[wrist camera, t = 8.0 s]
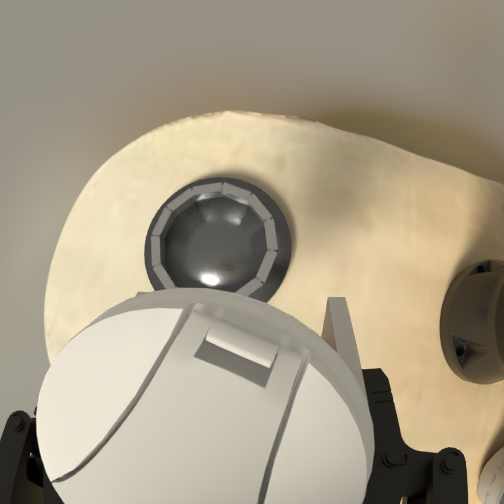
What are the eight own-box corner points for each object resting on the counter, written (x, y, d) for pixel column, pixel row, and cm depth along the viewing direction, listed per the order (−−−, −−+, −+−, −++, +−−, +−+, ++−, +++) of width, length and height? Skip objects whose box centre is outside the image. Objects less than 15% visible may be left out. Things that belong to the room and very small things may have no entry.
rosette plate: (311, 210, 33) (314, 201, 31) (254, 347, 31) (252, 349, 28) (186, 165, 36) (180, 154, 33) (127, 285, 33) (116, 282, 30)
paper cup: (215, 295, 19) (83, 216, 5) (330, 342, 18) (460, 369, 4) (169, 403, 17) (9, 489, 4) (279, 451, 16) (277, 623, 3)
